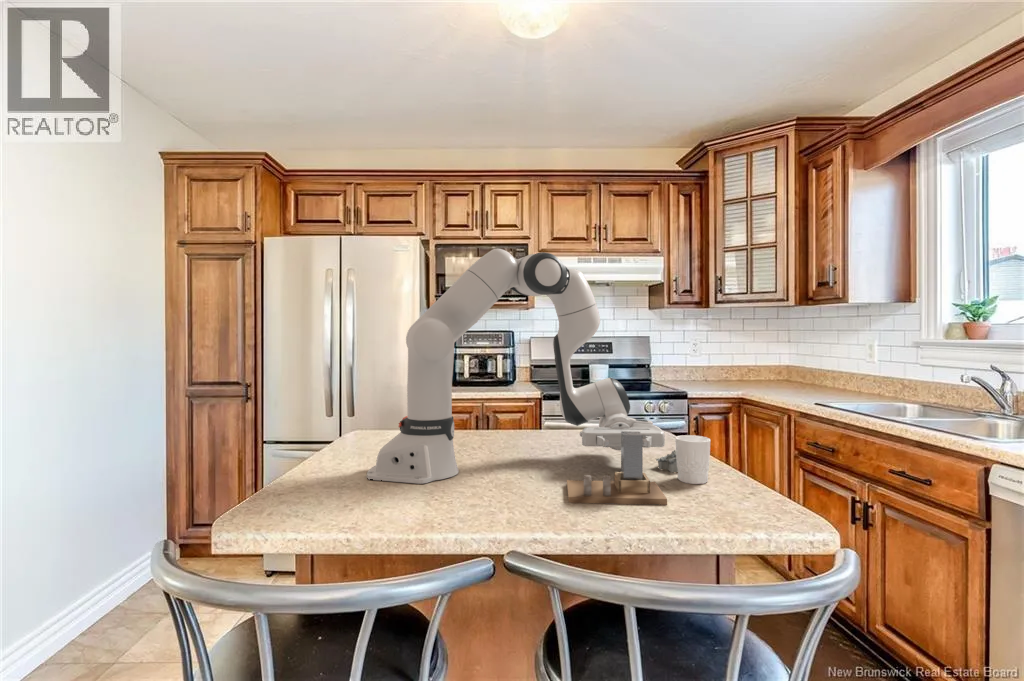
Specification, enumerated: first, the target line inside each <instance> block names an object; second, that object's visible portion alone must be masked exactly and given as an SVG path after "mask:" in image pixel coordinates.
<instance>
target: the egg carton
mask: <svg viewBox="0 0 1024 681" xmlns="http://www.w3.org/2000/svg"><path fill="white" fill-rule="evenodd" d="M655 461H657V463H658V466H657V468H658V467H659V468H658V470H660V469H667V471H668V472H669V473H671V472H677V470H678V468H677V460H676V449H675V450H673V451H671V453H668V454H666V455H665V456H661V457H659V458H655Z"/></svg>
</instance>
